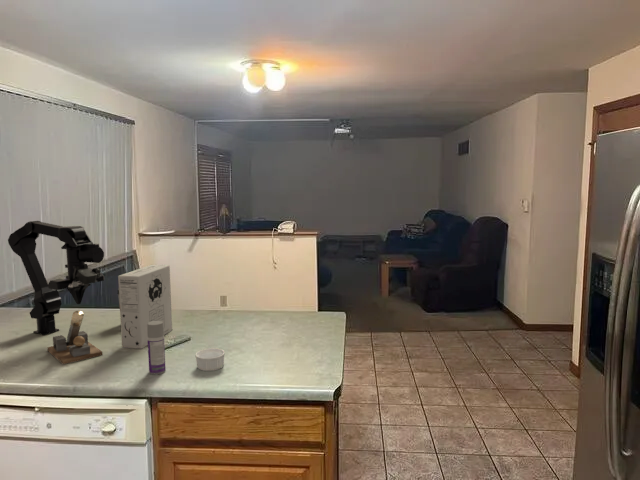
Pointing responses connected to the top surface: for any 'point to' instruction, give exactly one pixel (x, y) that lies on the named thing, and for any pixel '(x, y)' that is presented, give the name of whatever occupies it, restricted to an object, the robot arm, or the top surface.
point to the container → (156, 347)
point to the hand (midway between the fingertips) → (78, 304)
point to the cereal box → (144, 303)
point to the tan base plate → (73, 349)
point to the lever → (74, 327)
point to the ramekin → (210, 359)
